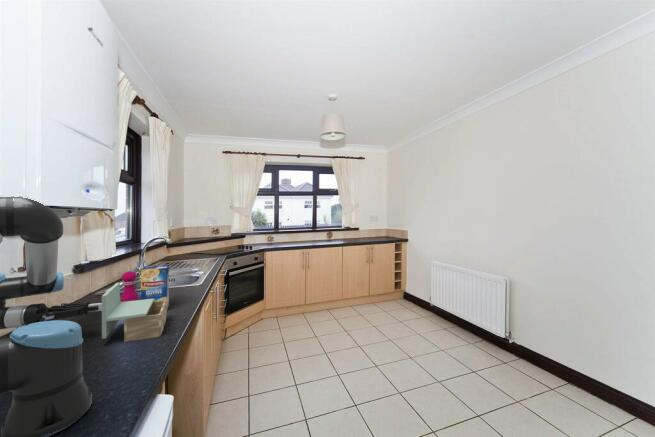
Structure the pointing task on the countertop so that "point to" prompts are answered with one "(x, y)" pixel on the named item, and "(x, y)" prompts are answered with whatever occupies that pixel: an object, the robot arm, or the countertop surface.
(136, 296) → the pepper mill
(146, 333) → the wooden box
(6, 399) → the countertop surface
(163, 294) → the blue food box
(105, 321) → the grey-green angled piece
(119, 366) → the countertop surface
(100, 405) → the countertop surface
